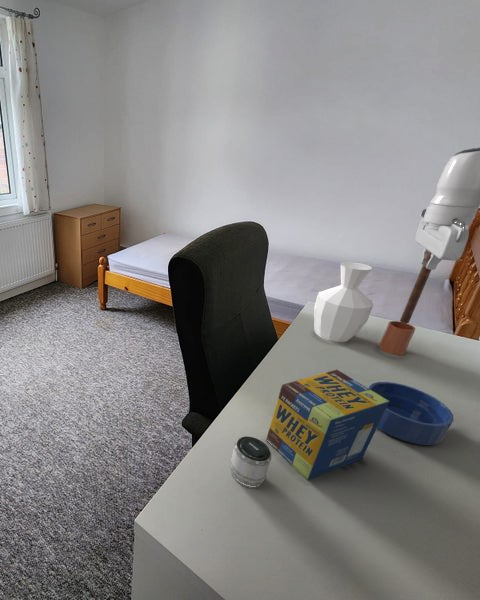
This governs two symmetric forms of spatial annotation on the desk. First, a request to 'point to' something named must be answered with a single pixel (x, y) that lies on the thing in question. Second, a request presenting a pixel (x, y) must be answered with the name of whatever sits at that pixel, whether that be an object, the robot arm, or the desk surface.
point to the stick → (416, 291)
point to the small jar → (250, 461)
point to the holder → (397, 337)
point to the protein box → (324, 422)
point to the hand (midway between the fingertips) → (427, 266)
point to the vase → (343, 305)
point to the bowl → (412, 414)
